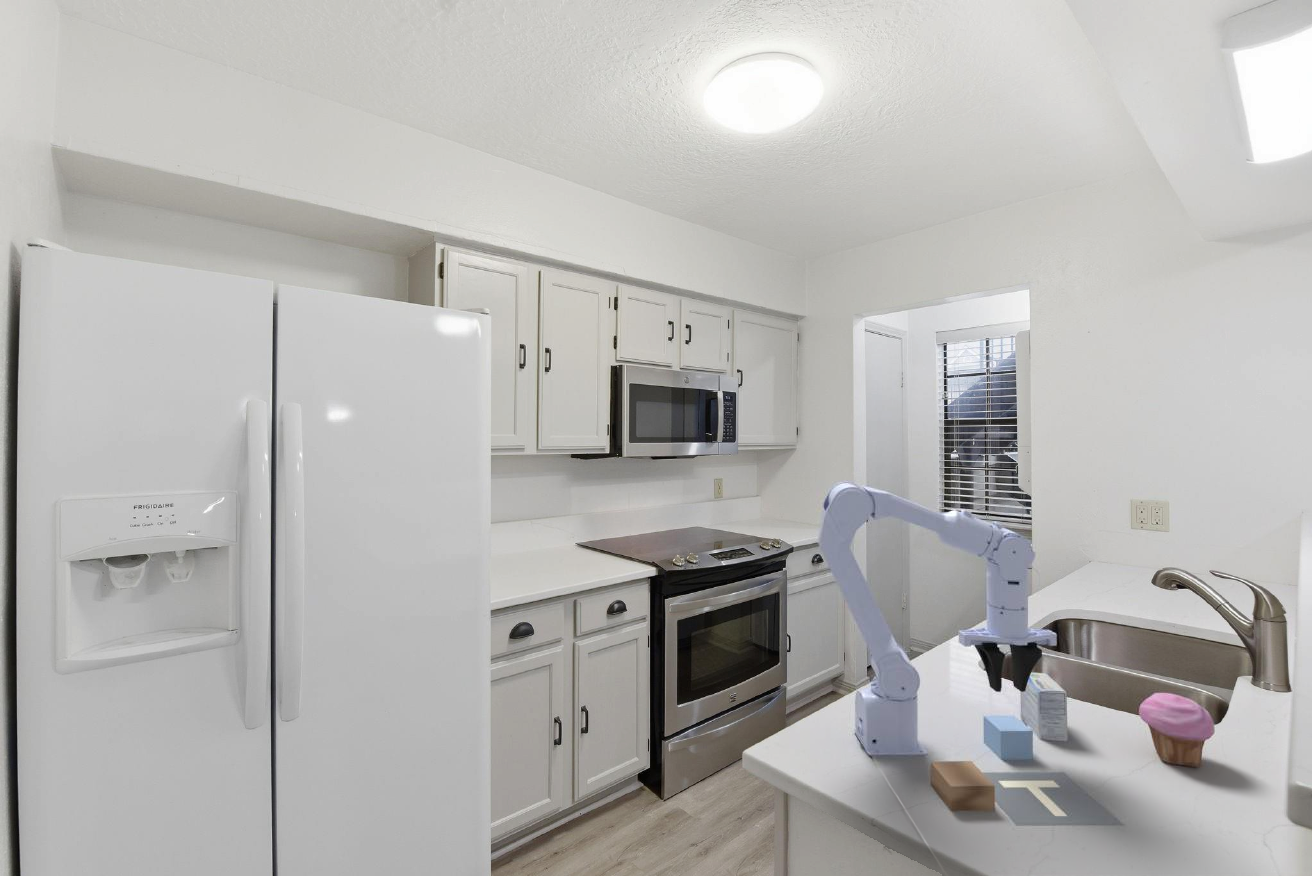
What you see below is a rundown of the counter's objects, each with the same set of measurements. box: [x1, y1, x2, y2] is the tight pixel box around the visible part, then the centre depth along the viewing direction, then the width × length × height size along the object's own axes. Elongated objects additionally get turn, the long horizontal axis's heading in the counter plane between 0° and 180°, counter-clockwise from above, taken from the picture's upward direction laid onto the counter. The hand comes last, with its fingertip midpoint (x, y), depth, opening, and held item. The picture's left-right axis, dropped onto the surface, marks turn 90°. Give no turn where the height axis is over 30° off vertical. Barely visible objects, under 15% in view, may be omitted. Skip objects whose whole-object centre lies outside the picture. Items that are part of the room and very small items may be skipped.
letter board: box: [981, 771, 1125, 827], centre depth 84 cm, size 14×12×1 cm
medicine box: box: [1020, 671, 1069, 742], centre depth 103 cm, size 8×4×9 cm, turn 168°
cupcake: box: [1138, 692, 1215, 768], centre depth 94 cm, size 9×9×10 cm
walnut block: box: [929, 760, 996, 812], centre depth 85 cm, size 6×6×4 cm
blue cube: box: [983, 715, 1034, 761], centre depth 96 cm, size 5×5×5 cm
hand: (1007, 689), depth 96 cm, fingers open, 3 cm apart
